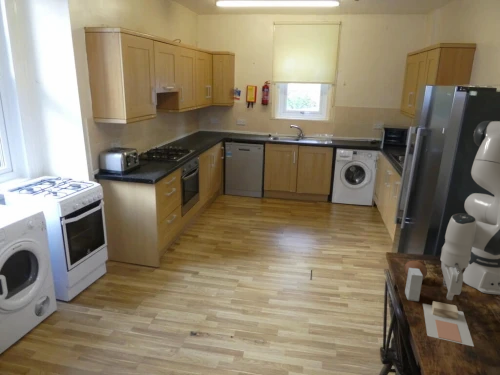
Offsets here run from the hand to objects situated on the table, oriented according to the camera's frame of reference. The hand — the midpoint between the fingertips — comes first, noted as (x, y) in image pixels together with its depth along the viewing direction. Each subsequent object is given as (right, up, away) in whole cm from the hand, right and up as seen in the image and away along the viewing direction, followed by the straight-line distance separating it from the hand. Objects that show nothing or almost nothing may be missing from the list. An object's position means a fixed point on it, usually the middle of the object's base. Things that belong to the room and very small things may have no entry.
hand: (447, 292), depth 131 cm
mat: (-2, -11, -2) cm, 12 cm away
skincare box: (-7, -7, +14) cm, 17 cm away
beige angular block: (0, -9, +3) cm, 10 cm away
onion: (+1, -3, +28) cm, 28 cm away
